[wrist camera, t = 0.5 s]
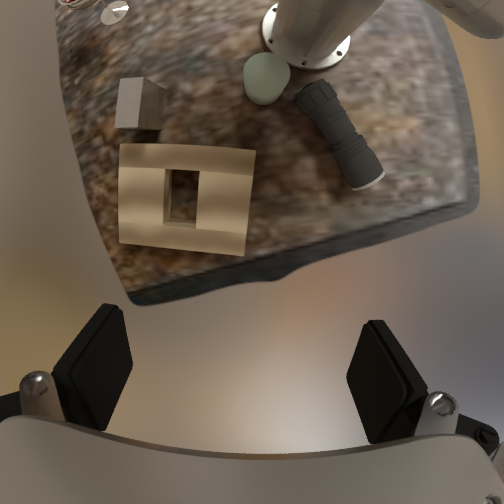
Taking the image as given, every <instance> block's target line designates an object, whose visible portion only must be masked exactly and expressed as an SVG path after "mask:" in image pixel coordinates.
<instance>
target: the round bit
mask: <svg viewBox="0 0 504 504" xmlns="http://www.w3.org/2000/svg"><path fill="white" fill-rule="evenodd" d="M243 78H244V87H245V93H246V95H247V97H248V98H249V99H250V100H251V101H252V102H254V103H256V104H259V105H268V104H271V103H273V102H275V101H276V100H277V99H278V98H279V96H280V95H281V93H282V92H283V90H284V88H285V87H286V85H287V83H288V82H289V79H290V68H289V66H288V64H287V62H286V61H285V60H284V59H283V58H282V57H280V56H278V55H276V54H274V53H268V52H263V53H258V54H256V55H254V56H252V57H251V58H249V59H248V60H247V62H246V63H245V65H244V68H243Z"/></svg>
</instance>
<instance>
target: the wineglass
mask: <svg viewBox="0 0 504 504" xmlns="http://www.w3.org/2000/svg"><path fill="white" fill-rule="evenodd" d="M58 1H59V3H60V4H63V5H65V6H66V7H67V8H68V9H70V10H74V11H79V10H85V9H88V8H90V7H92V6H94V5H95V4H96V3H99V4H101V5H102V6H104V7H105V9H104V11H103V12H102V15H101V21H102V23H103V24H105V25H111V24H114V23H116V22H118V21H120V20H121V19H122V18H123V17H124V16H125V14H126V13H127V10H128V5H127V3H126V2H124V1H116V2H113V3H111V4H110V5H107V4H106V3H105V2H104V1H103V0H58Z"/></svg>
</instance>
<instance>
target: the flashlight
mask: <svg viewBox="0 0 504 504" xmlns="http://www.w3.org/2000/svg"><path fill="white" fill-rule="evenodd" d="M336 96H337V94H336V92H335V91H334V89H333V88H332V86H331V85H330V84H329V83H328V82H325V80H324V79H321V80H319V81H317V82H315V83H310V84H308V85H306V86H305V87H304V88H303V90H301V91H300V92H299V93H297V94H296V95H295V97H296V98H297V104H298V105H299V106H300V108H301V109H302V111H303V112H304V113H306V114H308V115H309V117H310V118H311V120H312V119H313V120H314V121H315V124H316V125H317V128H319V129H320V130H321V132H322V133H323V135H324V136H325V138H326V140H327V141H328V143H329V144H332V147H333V150H332V154H333V155H334V157H335V158H336V160H337V161H338V162H339V165H340V168H341V172H342V174H343V175H344V177H345V179H346V180H347V182H348V184H349V185H350V187H351V189H352V190H353V191H359V190H363V189H365V188H368V187H370V186H372V185H374V184H375V183H377V182H378V181H379V180H381V179H382V177H383V176H384V174H385V172H384V170H383V168H382V166H381V164H380V162H379V160H378V159H377V157H376V155H375V153H374V152H373V151H372V150H371V149H370V148H369V147H368V146H367V143H366V142H365V139H363V136H362V135H358V134H357V132H355V130H356V129H355V128H354V126H353V124H352V123H351V121H350V119H349V118H348V116H347V115H346V111H345V110H343V107H341V106H340V102H339V100H338V99H337V97H336Z"/></svg>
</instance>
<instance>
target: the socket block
mask: <svg viewBox="0 0 504 504" xmlns="http://www.w3.org/2000/svg"><path fill="white" fill-rule="evenodd" d="M255 156H256V150H249V149H240V148H229V147H217V146H204V145H186V144H160V143H125V144H120V154H119V181H118V217H119V243H126V244H135V245H144V246H153V247H162V248H171V249H180V250H190V251H199V252H208V253H218V254H227V255H237V256H244V251H245V242H246V233H247V224H248V216H249V207H250V199H251V190H252V181H253V173H254V165H255ZM173 169H179V170H194V171H200V175H199V187H198V201H197V216H196V220H191V219H180V218H170V214H171V191H172V174H173Z"/></svg>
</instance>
